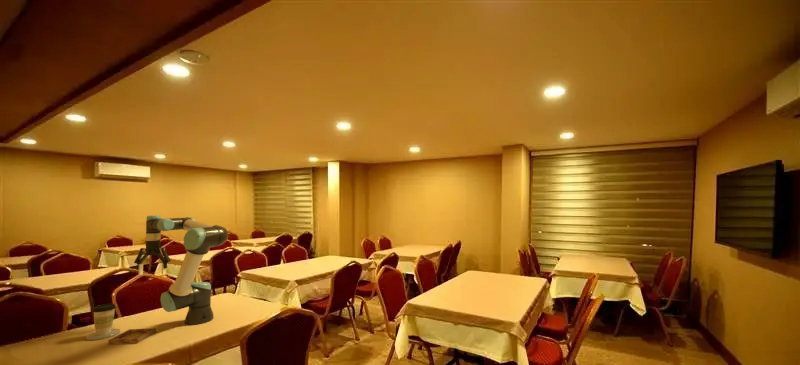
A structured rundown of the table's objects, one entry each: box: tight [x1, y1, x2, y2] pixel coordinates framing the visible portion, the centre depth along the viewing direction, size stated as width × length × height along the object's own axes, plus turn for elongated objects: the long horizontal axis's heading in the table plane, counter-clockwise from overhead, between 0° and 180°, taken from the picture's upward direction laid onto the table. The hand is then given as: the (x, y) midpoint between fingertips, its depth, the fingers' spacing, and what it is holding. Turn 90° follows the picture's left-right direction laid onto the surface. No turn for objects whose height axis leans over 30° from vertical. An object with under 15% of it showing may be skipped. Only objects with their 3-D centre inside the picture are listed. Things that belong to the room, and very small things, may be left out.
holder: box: [108, 327, 157, 345], centre depth 177 cm, size 14×14×2 cm
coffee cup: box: [92, 302, 117, 336], centre depth 182 cm, size 10×10×15 cm
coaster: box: [85, 328, 121, 342], centre depth 182 cm, size 14×14×1 cm
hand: (152, 274), depth 204 cm, fingers open, 13 cm apart
